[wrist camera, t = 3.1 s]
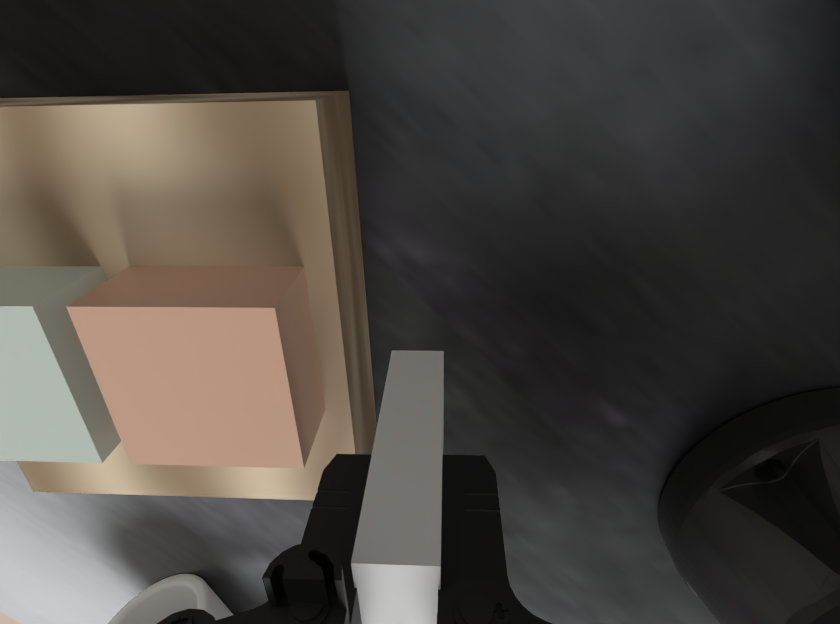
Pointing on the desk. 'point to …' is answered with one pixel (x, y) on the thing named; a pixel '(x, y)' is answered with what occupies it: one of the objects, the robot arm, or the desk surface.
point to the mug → (171, 601)
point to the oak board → (199, 239)
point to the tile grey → (49, 370)
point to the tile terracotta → (206, 363)
